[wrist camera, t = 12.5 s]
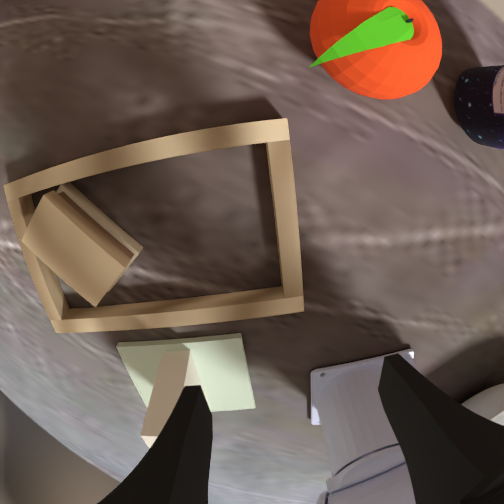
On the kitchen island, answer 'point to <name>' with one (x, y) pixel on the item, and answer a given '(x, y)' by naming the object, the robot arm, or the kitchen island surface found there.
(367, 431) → the robot arm
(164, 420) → the cream rectangular block
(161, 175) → the kitchen island surface
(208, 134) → the wooden rectangular frame
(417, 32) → the clementine
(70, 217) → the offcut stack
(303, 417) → the kitchen island surface
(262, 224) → the kitchen island surface
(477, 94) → the beverage can
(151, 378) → the sage mat
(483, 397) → the serving bowl
